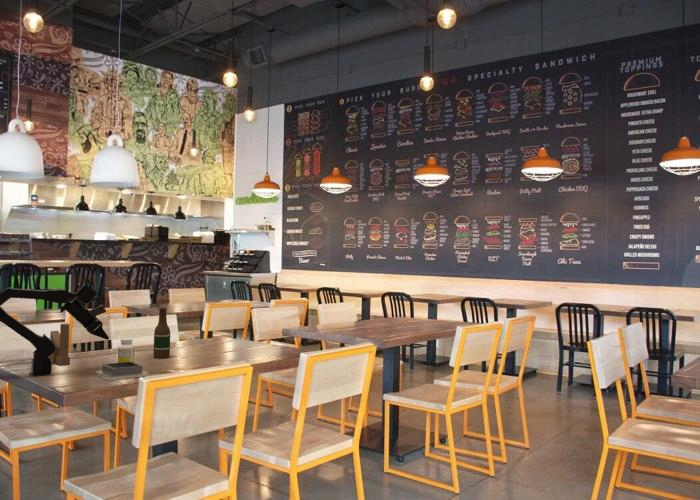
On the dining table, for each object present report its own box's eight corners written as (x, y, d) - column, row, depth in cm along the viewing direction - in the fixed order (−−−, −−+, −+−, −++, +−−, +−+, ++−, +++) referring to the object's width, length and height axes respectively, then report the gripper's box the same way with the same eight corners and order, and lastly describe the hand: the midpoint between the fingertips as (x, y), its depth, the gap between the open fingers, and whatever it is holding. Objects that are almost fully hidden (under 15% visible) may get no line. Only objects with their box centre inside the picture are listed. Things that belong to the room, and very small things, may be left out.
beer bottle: (172, 357, 286) (174, 307, 286) (158, 359, 280) (159, 308, 281) (164, 355, 291) (166, 306, 292) (149, 357, 286) (151, 307, 286)
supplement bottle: (127, 366, 260) (128, 337, 260) (137, 368, 256) (138, 338, 257) (114, 369, 254) (115, 339, 254) (124, 370, 251) (125, 340, 251)
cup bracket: (108, 380, 230) (108, 370, 230) (95, 374, 242) (95, 363, 242) (148, 376, 240) (149, 366, 240) (134, 370, 253) (134, 360, 253)
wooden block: (57, 362, 267) (58, 321, 267) (70, 365, 261) (71, 323, 261) (49, 363, 264) (50, 322, 264) (61, 366, 258) (63, 324, 258)
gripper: (96, 299, 241) (124, 325, 246) (91, 296, 257) (118, 321, 263) (74, 319, 237) (104, 346, 242) (71, 315, 253) (98, 340, 259)
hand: (106, 337), depth 252 cm, fingers open, 9 cm apart
